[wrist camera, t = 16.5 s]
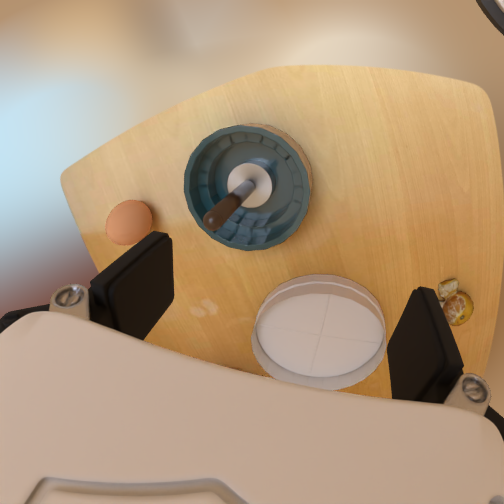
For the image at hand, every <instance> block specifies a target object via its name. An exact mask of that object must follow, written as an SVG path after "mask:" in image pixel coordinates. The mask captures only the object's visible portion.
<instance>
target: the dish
mask: <svg viewBox="0 0 504 504" xmlns="http://www.w3.org/2000/svg"><path fill="white" fill-rule="evenodd" d="M251 342H252V351H253V353H254V355H255V357H256V359H257V361H258V363H259V364H260V365H261V366H262V367H263V369H264V370H265V371H266V372H267V373H268V374H270V375H271V376H273V377H274V378H275V379H277V380H281V381H286V382H290V383H295V384H300V385H305V386H310V387H315V388H321V389H326V390H339V389H342V388H346V387H349V386H352V385H354V384H356V383H358V382H360V381H362V380H364V379H365V378H366V377H368V376H369V375H370V374H371V373H372V372H373V371H375V370H376V368H377V367H378V365H379V364H380V362H381V361H382V359H383V357H384V353H385V350H386V330H385V321H384V315H383V311H382V309H381V307H380V305H379V303H378V301H377V299H376V298H375V297H374V296H373V295H372V294H371V293H370V292H369V291H368V290H367V289H366V288H364V287H363V286H361V285H359V284H357V283H356V282H354V281H352V280H350V279H346V278H343V277H339V276H336V275H325V274H312V275H307V276H301V277H296V278H294V279H291V280H289V281H287V282H285V283H283V284H280V285H279V286H278V287H277V288H275V289H274V290H273V291H272V292H271V293H269V294H268V295H267V297H266V298H265V300H264V302H263V303H262V305H261V306H260V309H259V311H258V314H257V317H256V321H255V325H254V329H253V333H252V336H251Z"/></svg>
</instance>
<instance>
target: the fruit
mask: <svg viewBox="0 0 504 504" xmlns="http://www.w3.org/2000/svg"><path fill="white" fill-rule="evenodd" d="M458 285H459V283H458V281H457V280H456V279H453V280H450V281H448V280H447V281H444V282H442V283H440V284H439V289H438V290H439V291H440V296H442V297H444V298H445V301H444V302H440V305H441V307H442V309H443V312H444V314H445V316H446V319H447V321H448V324H450V325H452V326H459V325H461V324H463V323H465V322H466V321H467V320H468V319H469V318H470V316H471V315H472V313H473V309H474V306H473V301H472V300H471V298H470V296H468V295H467V294H466V293H463V292H462V291H459V292H456V289H457V287H458Z"/></svg>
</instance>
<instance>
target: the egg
mask: <svg viewBox="0 0 504 504" xmlns="http://www.w3.org/2000/svg"><path fill="white" fill-rule="evenodd" d="M151 225H152V215H151V212H150V209H149V208H148V207H147V206H146V205H145V204H144V203H142V202H140V201H136V200H128V201H125V202H122V203H120V204H119V205H117V206H116V207H115V208H114V209H113V210H112V211H111V212H110V214H109V216H108V218H107V221H106V225H105V230H106V234H107V236H108V238H109V239H110V240H111V241H112V242H113V243H115V244H118V245H132V244H135V243H137V242H139V241H140V240H142V239H143V238H144V237H145V236H146V235H147V234H148V232H149V231H150V228H151Z"/></svg>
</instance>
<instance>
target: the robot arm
mask: <svg viewBox="0 0 504 504" xmlns="http://www.w3.org/2000/svg"><path fill="white" fill-rule="evenodd" d="M495 2H496V3H497V5H498V6H499V8H500V9H501V10H502V12H503V13H504V0H495ZM90 284H91V287H90V288H89V289H88V290H87V289H86V288H85V287H84V286H82V285H78V284H70V285H66V286H63V287H61V288H59V289H58V290H56V291H55V292H54V293H53V295H52V297H51V300H50V304H47V305H42V306H37V307H31V308H26V309H21V310H16V311H11V312H8V313H6V314H5V315H4V316H3V317H2V318H1V319H0V504H504V418H503V417H502V416H501V415H499V414H498V413H497V412H496V411H495V410H494V409H492V408H491V407H490V406H489V402H490V399H491V391H490V388H489V386H488V384H487V383H486V381H485V380H483V379H482V378H481V377H480V376H478V375H476V374H473V373H466V374H464V373H463V370H462V368H463V366H464V364H463V361H462V358H461V355H460V353H459V350H458V347H457V344H456V342H455V339H454V336H453V334H452V331H451V329H450V326H449V324H448V321H447V319H446V316H445V314H444V312H443V309H442V307H441V305H440V302H439V300H438V298H437V296H436V293H435V291H434V290H433V289H430V288H426V287H421V286H420V287H418V289H417V290H416V289H414V290H413V291H412V293H411V296H410V298H409V300H408V303H407V305H406V307H405V309H404V311H403V314H402V316H401V318H400V320H399V322H398V324H397V326H396V328H395V330H394V332H393V334H392V336H391V338H390V340H389V343H388V346H387V355H388V362H389V371H390V380H391V390H392V399H388V398H380V397H372V396H364V395H357V394H351V393H344V392H338V391H332V390H326V389H321V388H315V387H310V386H305V385H300V384H295V383H290V382H286V381H281V380H277V379H272V378H268V377H264V376H260V375H255V374H251V373H247V372H243V371H240V370H236V369H232V368H228V367H225V366H221V365H218V364H214V363H211V362H207V361H204V360H201V359H197V358H194V357H191V356H187V355H184V354H181V353H178V352H175V351H172V350H169V349H166V348H163V347H160V346H157V345H154V344H151V343H149V342H146V341H143V340H144V339H145V337H146V336H147V335H148V333H149V332H150V331H151V329H152V328H153V327H154V325H155V324H156V323H157V321H158V320H159V319H160V318H161V316H162V315H163V314H164V312H165V311H166V310H167V308H168V307H169V306H170V305H171V303H172V302H173V299H174V278H173V249H172V239H171V238H169V236H168V234H167V233H162V232H158V231H153V232H151V233H150V234H149V235H147V236H146V237H145V238H143V239H142V240H141V241H139V242H138V243H137V244H136V245H134V246H133V247H132V248H131V249H129V250H128V251H127V252H125V253H124V254H123V255H122V256H120V257H119V258H118V259H117V260H116V261H114V262H113V263H112V264H111V265H109V266H108V267H107V268H106V269H105V270H103V271H102V272H101V273H100V274H99V275H97V276H96V277H95V278H94V279H93V280H91V281H90Z"/></svg>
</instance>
